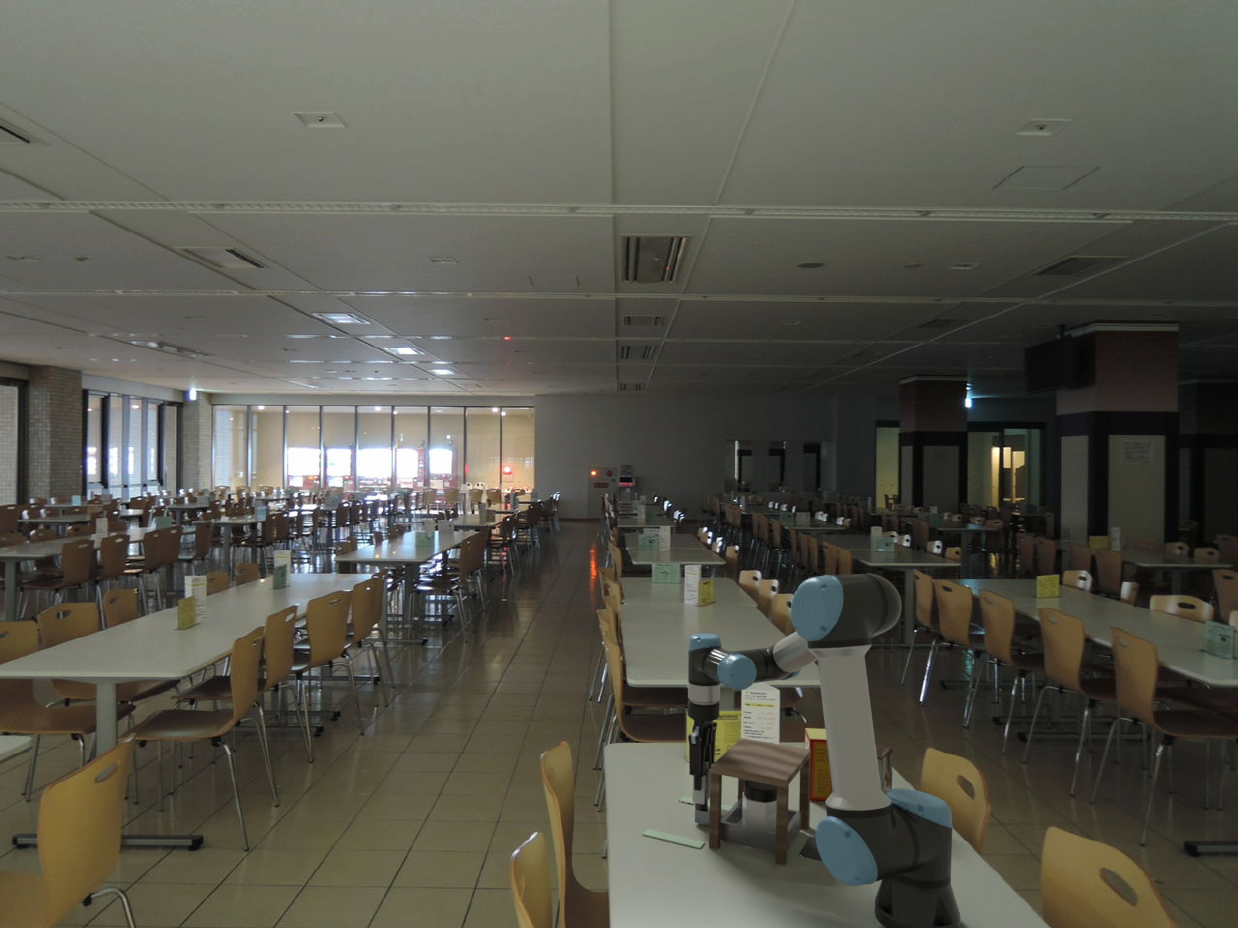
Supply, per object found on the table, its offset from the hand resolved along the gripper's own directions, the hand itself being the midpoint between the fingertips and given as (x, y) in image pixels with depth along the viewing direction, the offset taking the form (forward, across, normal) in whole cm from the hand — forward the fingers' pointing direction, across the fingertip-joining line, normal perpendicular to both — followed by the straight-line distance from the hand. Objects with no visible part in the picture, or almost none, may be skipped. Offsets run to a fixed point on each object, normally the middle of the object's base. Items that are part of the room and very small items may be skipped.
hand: (701, 799), depth 195 cm
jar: (+6, 0, +14) cm, 16 cm away
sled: (+5, 0, +10) cm, 11 cm away
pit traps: (+6, 0, +31) cm, 32 cm away
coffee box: (+6, -25, +36) cm, 44 cm away
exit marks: (+6, 0, -2) cm, 6 cm away
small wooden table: (+6, 0, +14) cm, 16 cm away
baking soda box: (+6, -32, +20) cm, 38 cm away
